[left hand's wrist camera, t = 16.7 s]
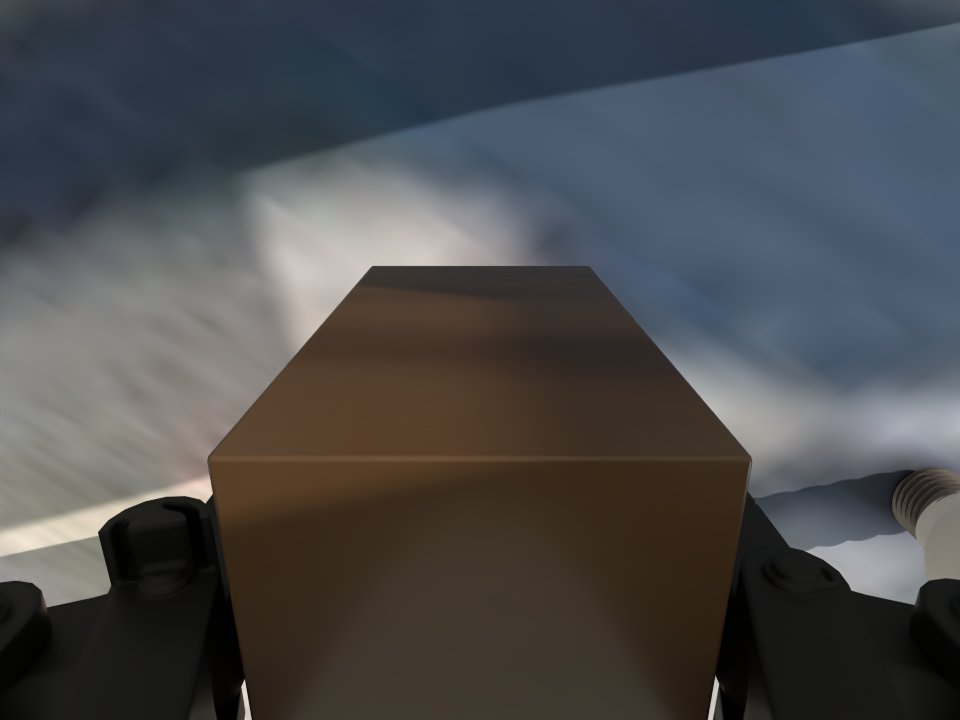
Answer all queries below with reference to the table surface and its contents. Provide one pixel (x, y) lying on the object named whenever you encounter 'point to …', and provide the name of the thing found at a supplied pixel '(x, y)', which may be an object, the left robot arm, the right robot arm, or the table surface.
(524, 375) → the bar
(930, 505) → the light bulb
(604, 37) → the table surface
